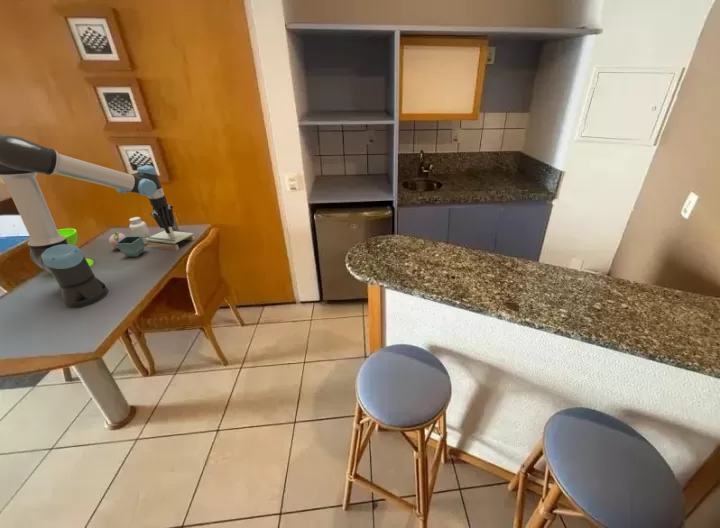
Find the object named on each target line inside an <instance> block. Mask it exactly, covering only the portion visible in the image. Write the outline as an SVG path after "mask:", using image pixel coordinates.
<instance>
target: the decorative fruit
mask: <svg viewBox="0 0 720 528" xmlns="http://www.w3.org/2000/svg"><path fill="white" fill-rule="evenodd" d="M125 237H127V235H126V234H125V233H122V232H120V231H116V232H114V233H113V234H112V235H110V236H109V237H108V241H109V244H110V246H112V247H113V248H116V249H119V248H118V247H117V245H116V243H117V242H119V241H120V240H122V239H123V238H125Z"/></svg>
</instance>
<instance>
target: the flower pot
mask: <svg viewBox="0 0 720 528" xmlns="http://www.w3.org/2000/svg"><path fill="white" fill-rule="evenodd" d="M116 245H117V247H118V248H117V249H119V251H120V252H121V253H122V254H123V255H125V256H127V257H134V258H135V257H140V255H141V254H142V253H143V252H144V250H145V245H144V242H143V238H142V236H133V235H132V236H131V235H130V236H129V235H126V237H125V238H123V239H122V240H120V241H119V242H117V243H116Z"/></svg>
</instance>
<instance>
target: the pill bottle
mask: <svg viewBox="0 0 720 528" xmlns="http://www.w3.org/2000/svg"><path fill="white" fill-rule="evenodd" d="M128 221H129V223H130V224H129V229H130V232H131V233H132V236H142V238H143V242H144V246H147V245H146V243H145V242H147V240H145V239H146V238H147V237H151V236H152V234H151V232H150V230H149V227H148V226H147V223H146V222H145V221H142V219H141V217H140V216H134V217H131V218H129V220H128Z"/></svg>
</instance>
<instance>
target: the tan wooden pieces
mask: <svg viewBox="0 0 720 528" xmlns="http://www.w3.org/2000/svg"><path fill="white" fill-rule="evenodd" d="M168 205H169V206H171V204H168ZM173 217H174V224H172V225H173V226H172V227H173V230H174V231H177V232H180V229H179V227H178V224H177V221H176V218H175V215H174V214H173ZM194 235H195V234H193V235H191V236H189V237H187V238H185V239H183V240H182V241H188V242H189V241H191V242H194V241H195V240H196V237H195V236H194ZM145 243H146V245H145V246H146V248H151V249H158V250H167V251H176V252H177V251H179V250H180V248H179V244H177V243H175V244H173V243H164V242H156V241H147V242H145Z"/></svg>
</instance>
